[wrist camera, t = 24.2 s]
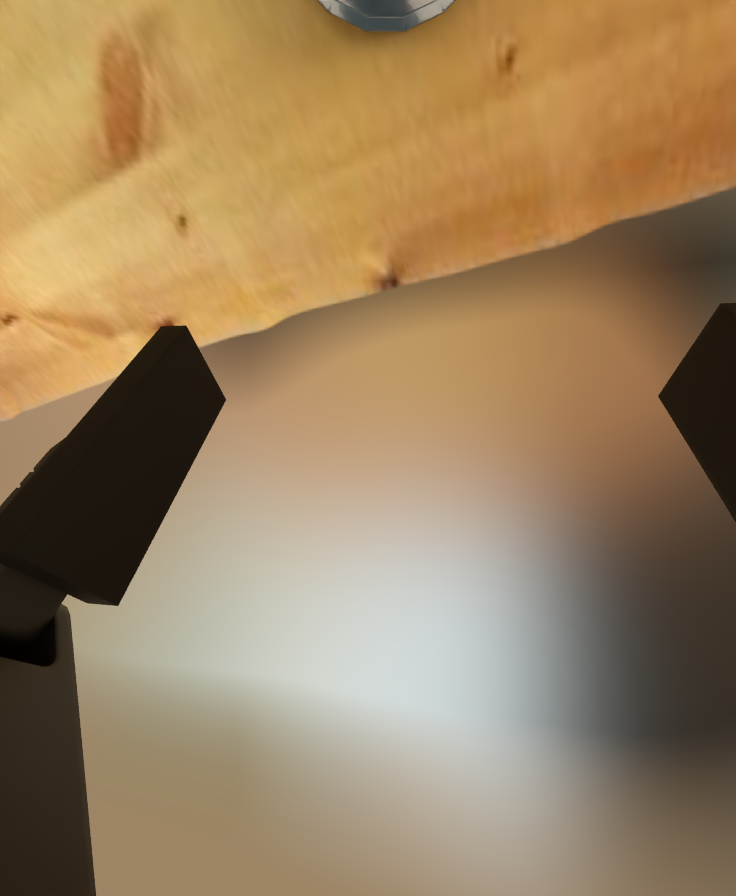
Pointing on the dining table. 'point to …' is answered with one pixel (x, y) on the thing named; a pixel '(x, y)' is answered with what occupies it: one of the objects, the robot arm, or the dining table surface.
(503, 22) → the dining table surface
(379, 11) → the grey round bowl
